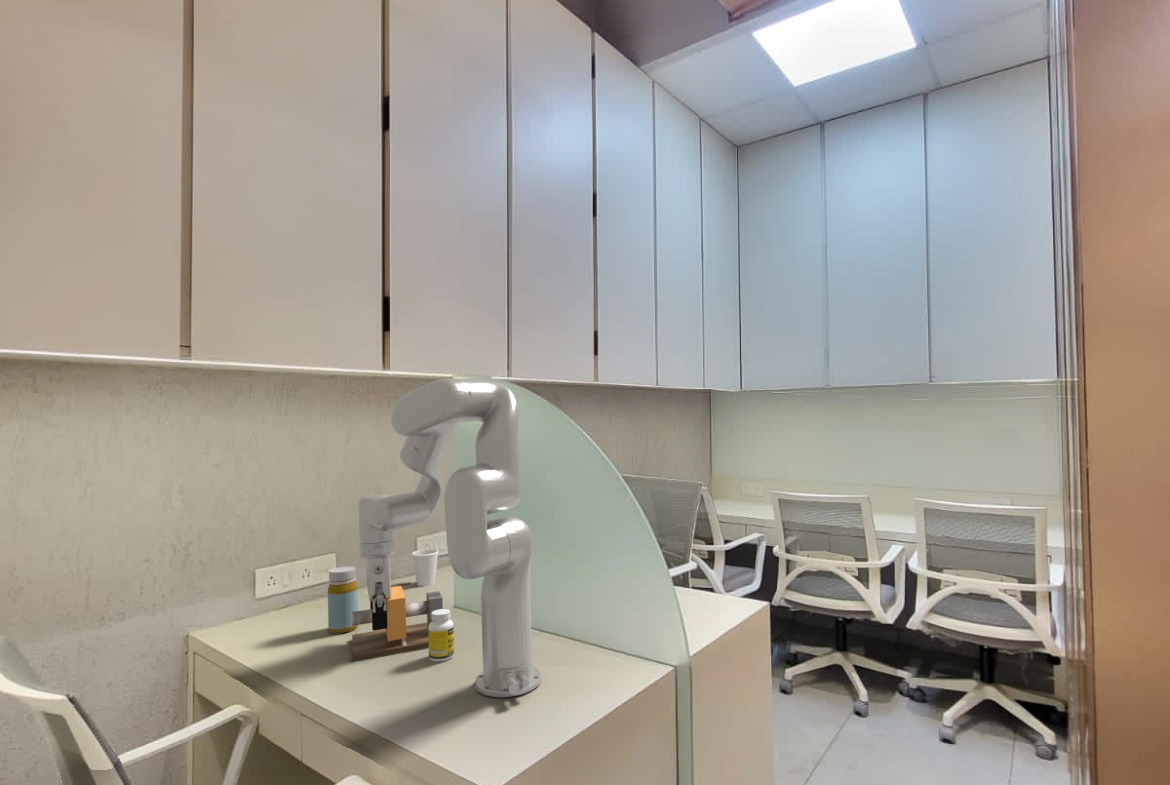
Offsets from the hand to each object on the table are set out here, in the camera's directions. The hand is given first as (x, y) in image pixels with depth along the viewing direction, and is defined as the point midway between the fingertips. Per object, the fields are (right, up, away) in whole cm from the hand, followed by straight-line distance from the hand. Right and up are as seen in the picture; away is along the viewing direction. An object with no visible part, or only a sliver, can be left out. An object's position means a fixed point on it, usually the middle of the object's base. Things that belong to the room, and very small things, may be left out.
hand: (378, 622), depth 136 cm
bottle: (-13, -7, +12) cm, 19 cm away
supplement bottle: (+17, -4, -9) cm, 19 cm away
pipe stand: (+4, -5, +1) cm, 7 cm away
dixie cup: (-3, -8, +51) cm, 52 cm away
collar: (+3, -3, +1) cm, 4 cm away
